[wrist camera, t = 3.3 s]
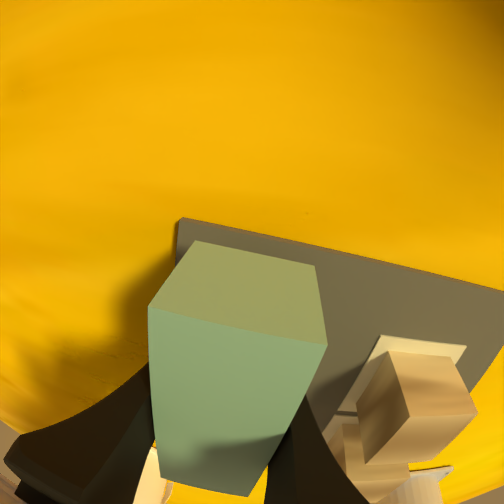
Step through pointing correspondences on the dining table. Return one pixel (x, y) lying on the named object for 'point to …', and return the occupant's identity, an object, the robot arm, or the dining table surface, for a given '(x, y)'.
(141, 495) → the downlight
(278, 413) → the lintel
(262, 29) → the dining table surface
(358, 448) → the wooden cube
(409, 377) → the pillar
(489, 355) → the mat
